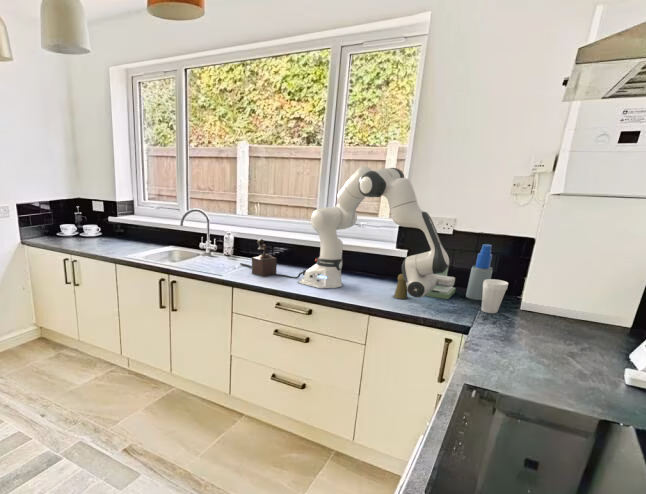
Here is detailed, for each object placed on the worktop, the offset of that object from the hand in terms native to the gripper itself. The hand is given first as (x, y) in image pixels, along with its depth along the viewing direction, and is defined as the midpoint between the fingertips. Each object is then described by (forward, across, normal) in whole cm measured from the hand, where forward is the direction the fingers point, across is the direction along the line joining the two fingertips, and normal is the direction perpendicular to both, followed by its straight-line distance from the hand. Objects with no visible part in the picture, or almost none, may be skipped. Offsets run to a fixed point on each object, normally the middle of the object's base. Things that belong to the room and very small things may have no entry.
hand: (434, 275), depth 213 cm
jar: (+10, 0, +8) cm, 13 cm away
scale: (+10, 0, +11) cm, 15 cm away
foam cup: (-4, -26, +11) cm, 29 cm away
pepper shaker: (-7, +12, +11) cm, 18 cm away
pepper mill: (-7, +92, +11) cm, 93 cm away
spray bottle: (+15, -17, +11) cm, 25 cm away
